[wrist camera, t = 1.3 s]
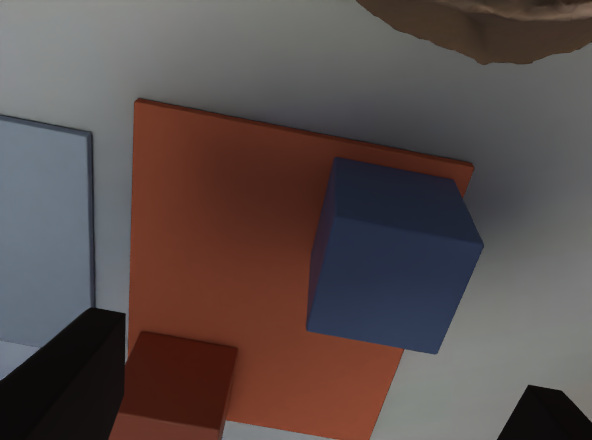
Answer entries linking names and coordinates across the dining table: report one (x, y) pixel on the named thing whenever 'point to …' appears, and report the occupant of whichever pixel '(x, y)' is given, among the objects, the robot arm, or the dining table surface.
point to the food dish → (492, 26)
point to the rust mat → (253, 261)
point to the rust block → (175, 390)
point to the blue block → (390, 256)
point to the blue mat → (44, 229)
